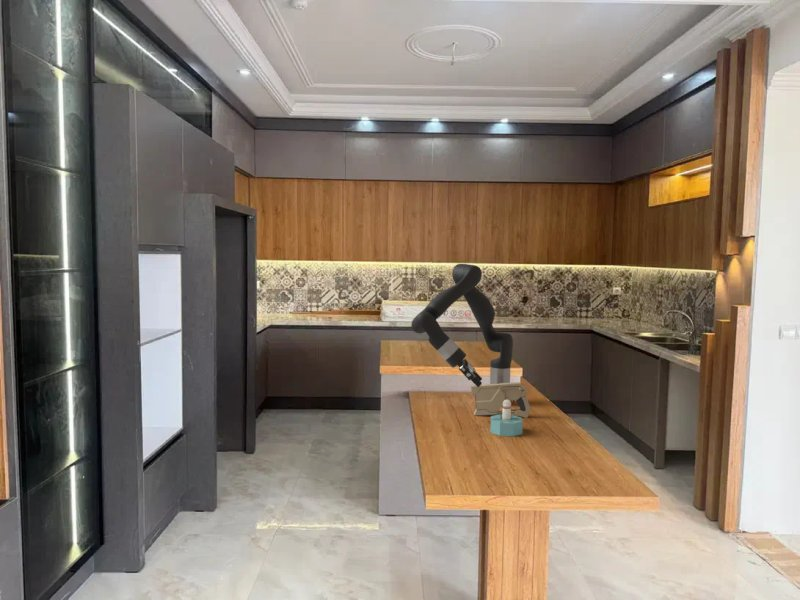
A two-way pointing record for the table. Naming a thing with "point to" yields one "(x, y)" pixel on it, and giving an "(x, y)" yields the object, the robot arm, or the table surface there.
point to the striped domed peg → (506, 410)
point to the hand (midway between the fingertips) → (480, 383)
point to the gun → (500, 398)
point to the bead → (506, 426)
